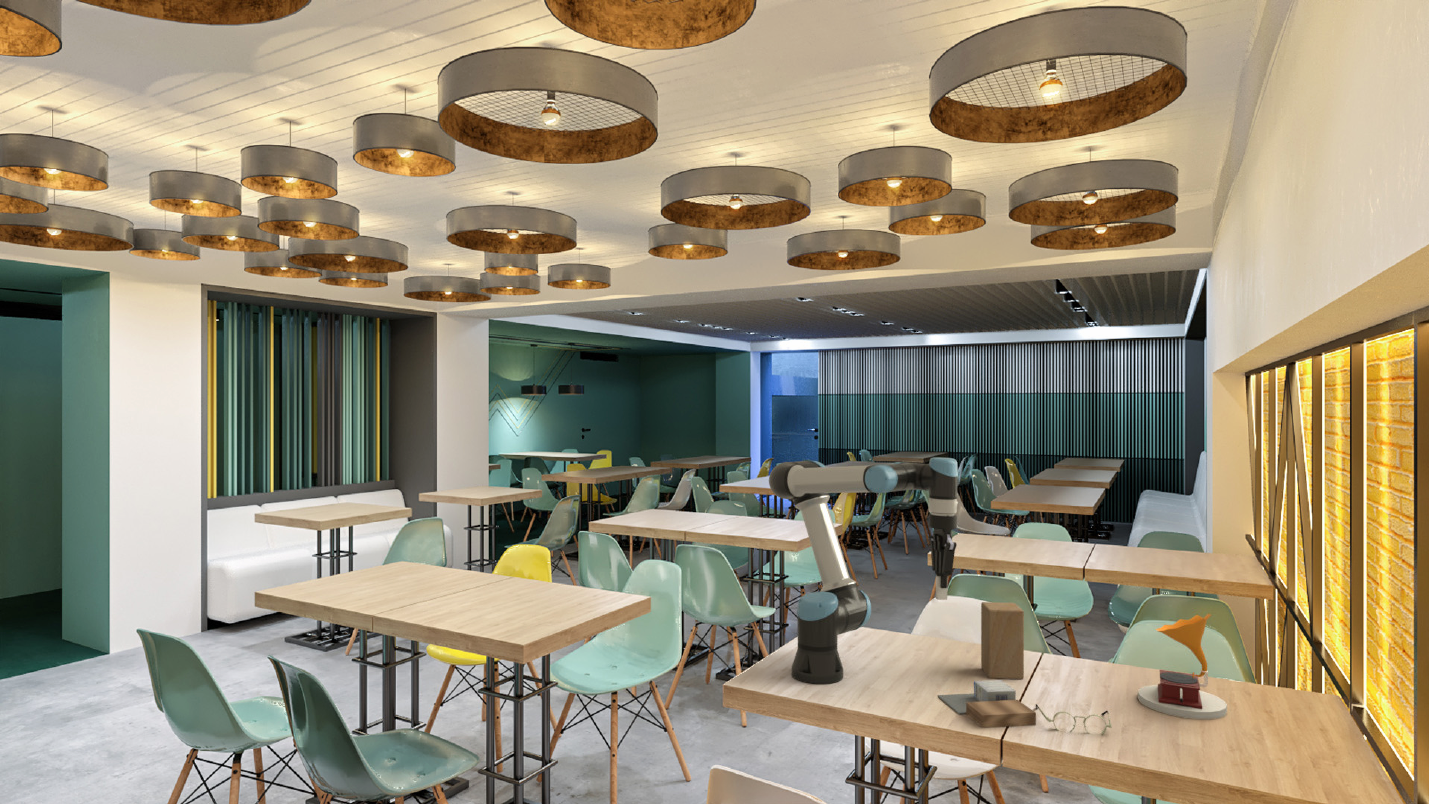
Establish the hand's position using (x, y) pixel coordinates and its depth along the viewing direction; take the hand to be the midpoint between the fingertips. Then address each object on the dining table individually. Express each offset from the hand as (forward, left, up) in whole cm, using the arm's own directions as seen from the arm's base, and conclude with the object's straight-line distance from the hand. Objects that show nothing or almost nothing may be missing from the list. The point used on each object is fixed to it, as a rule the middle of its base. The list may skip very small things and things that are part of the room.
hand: (941, 598), depth 222 cm
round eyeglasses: (+25, -24, -27) cm, 43 cm away
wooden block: (+25, +13, -26) cm, 38 cm away
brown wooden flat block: (+7, -20, -26) cm, 34 cm away
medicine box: (+10, -14, -23) cm, 29 cm away
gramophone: (+60, -17, -26) cm, 67 cm away
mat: (+6, -9, -26) cm, 28 cm away
